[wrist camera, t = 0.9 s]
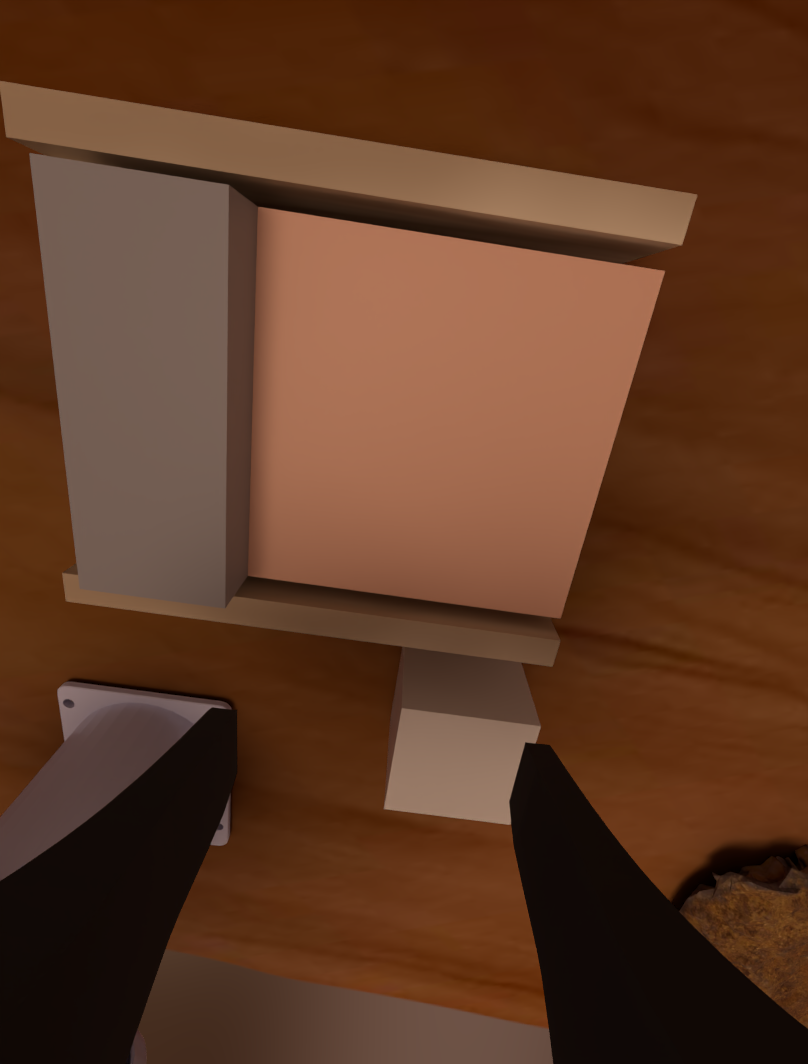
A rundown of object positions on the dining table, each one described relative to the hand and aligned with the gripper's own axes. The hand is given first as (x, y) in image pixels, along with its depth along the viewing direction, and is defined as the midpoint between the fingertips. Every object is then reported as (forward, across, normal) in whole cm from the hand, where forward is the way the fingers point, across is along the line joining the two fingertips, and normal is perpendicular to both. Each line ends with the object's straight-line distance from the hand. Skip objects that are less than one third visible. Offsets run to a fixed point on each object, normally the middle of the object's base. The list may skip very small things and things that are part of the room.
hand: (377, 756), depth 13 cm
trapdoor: (+6, +2, -7) cm, 9 cm away
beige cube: (+10, -3, +5) cm, 11 cm away
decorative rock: (+10, -23, +20) cm, 32 cm away
